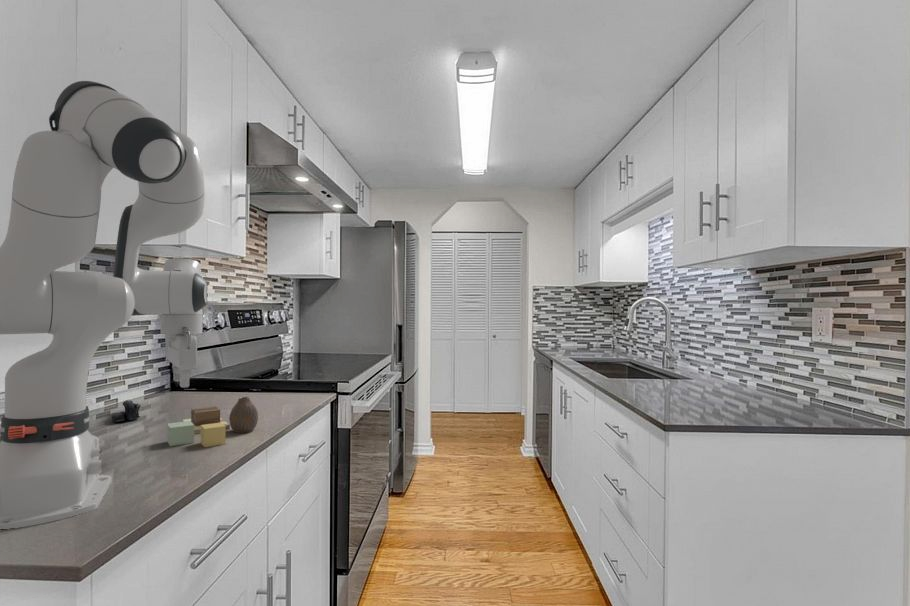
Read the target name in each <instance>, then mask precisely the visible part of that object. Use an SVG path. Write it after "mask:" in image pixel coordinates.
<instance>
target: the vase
mask: <svg viewBox="0 0 910 606" xmlns="http://www.w3.org/2000/svg"><path fill="white" fill-rule="evenodd" d="M228 419H229V425H230V429H231V430H233V432H234V433H236V434H246V433H250V432H252V431H254V430H255V428H256V427H257V424H258V422H259V413H258V408H257V407H256V406H255V404H253V402H252V400H251V399H250V397H249V396H244V397H243V396H242V397H239V398H238V400H237V402H236V403H235V405H234V406H233V407H232V408H231V409H230V414H229V417H228Z"/></svg>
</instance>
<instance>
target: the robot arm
mask: <svg viewBox="0 0 910 606" xmlns="http://www.w3.org/2000/svg"><path fill="white" fill-rule="evenodd" d="M54 104H55V105H54V110H53V112H51V114H50V115H49V117H48V122H49V127H50V130H43V131H41V130H40V131H37V132H34V133H32V134H30V135H28V137H26V138H25V140H24V142H23V143H22V147H21V149H20V153H19V155H18V159H17V161H16V165H15V168H14V169H15V170H14V174H13V181H12V192H11V204H10V212H9V213H10V214H9V221H8V226H7V230H6V231H7V233H6V236H5V238H4V240H3V242H2V244H1V245H0V335H26V334H27V335H29V334H35V335H36V334H49V335H50V334H51V335H52V340H51V342H50V344H49V345H48V346H47V347H45V348H44V349H42V350H39V351H37V352H35V353H32V354H30V355H27V356H26V357H24V358H22V359H20V360H18V361H16V362H15V363H13V364H12V365H11V366H10V367H9V369H8V370H7V371H6V373H5V377H4V415H3V416H1V418H0V419H1V420H0V440H1V442H0V529H8V530H10V529H9V528H15V529H19V528H20V527H21V528H26V527H31V526H32V527H33V526H35V525H36V526H38V525H42V524H46V523H51V522H56V521H60V520H64V519H67V518H68V517H69V518H71V517H72V516H73V517H75V515H76V516H79V514H80V515H83V514H86V513H88V511H89V512H91V511H94V510H96V509H97V508H98V507H99V506H100V504H101V502H102V501H103V498H104V497H105V495H106V493H107V491H108V489H109V488H110V486H111V484H112V482H113V479H112V475H109V474H101V473H102V468H103V460H102V459H99V457H101V452H102V451H101V450H102V449H101V448H99V438H98V437H97V436H96V435H93V434H92V433H91V432H90V431H89V428H90V419H91V418H90V417H91V415H90V410H89V408H88V407H87V391H88V380H89V379H88V378H89V371H90V366H91V363H92V359H93V358H94V356H95V353H96V352H97V350H99V347H100V346H101V345H102V343H104V341H105V340H106V339H107V338H108V337H109V336H110V335H111V334H113V333H114V332H115V331H117V330H118V329H120V328H122V327H123V326H124V325H126V324H127V323H128V321H129V320H130V319H131V318H132V316H142V315H160V334H161V335H164V339H165V351H166V358H167V361H168V362H170V363H171V364H172V366H171V367H172V373H173V381H174V382H179V386H180V388H183V389H184V388H189V386H190V379H191V374H192V370H195V369H197V367H198V344H197V342H198V341H197V340H198V339H197V335H198V334H203V319H204V318H203V317H204V316H203V314H204V313H203V308H204V307H206V306H207V305H208V302H209V301H208V285H209V282H208V280H206V279H205V278H204V277H203V274H202V268H201V267H202V265H201V264H200V262H199V261H198V260H196V259H194V258H193V259H192V258H189V257H173V258H171V257H170V258H168V259H166V260H165V261H164V264H163V268H162V269H163V270H152V269H151V270H149V269H142V268H140V267H138V265H139V264H138V263H139V258H140V257H139V256H140V248H141V246H142V245H143V244H145V243H146V242H150V241H152V240H155V239H158V238H163V237H167V236H172V235H178V234H180V233H183V232H185V231H187V230H189V229H190V228H192V227H193V226H194V225H196V224H197V223H198V222H199V220H200V219H201V218H202V216H203V212H204V207H205V180H204V178H205V177H204V172H203V165H202V162H201V161H202V160H201V157H200V152H199V149H198V146H197V145H196V143H195V142H194V141H193V139H191V138H190V137H188V136H187V135H186V134H184V133H181V132H179V131H176V130H173V129H172V128H171V127H170V126H169V125H168V124H167V123H166V122H165V121H163V120H161V119H160V118H158V117H156V116H155V115H154V114H153V113H152V112H150V111H148V110H147V109H146V108H145V107H144V106H143V105H142V104H140V103H139V102H137V101H136V100H134V99H132V98H131V97H129V96H126V95H124V94H123V93H121V92H118V91H117V90H116V89H114V88H113V87H111V86H108V85H106V84H103V83H101V82H96V81H93V80H92V81H91V80H80V81H75V82H72V83H71V84H69V85H68V86H66V87H65V88H64V89H63V90H62V92H61V93H60V94H59V96H58V98H57V99H56V101H55V103H54ZM53 121H54V122H53ZM53 123H54V124H53ZM54 125H55V126H54ZM113 169H114V170H117V171H119V172H120V173H121V174H123V176H125V177H127V178H129V179H131V180H134V181H136V182H137V183H138V197H137V199H136V201H135V202H134V203H133V204H130V205H127V206H126V207H124V209H123V211H122V213H121V217H120V220H119V225H118V231H117V238H116V239H117V240H116V249H115V257H114V264H113V265H114V267H113V275H109V274H103V273H98V272H88V271H86V272H85V271H83V272H82V271H60V270H58V269H60V268H63V267H65V266H68V265H71V264H74V263H77V262H79V261H81V260H83V259H85V257H87V256H88V255H89V254H90V253H91V252H92V250H93V249H94V247H95V245H96V240H97V233H98V226H99V218H100V210H101V202H102V201H101V200H102V187H103V184H104V182H105V179H106V178H107V175H108V174H109V173H110V172H111V171H112V170H113ZM109 485H110V486H109ZM103 496H104V497H103ZM98 505H99V506H98ZM93 509H94V510H93ZM90 510H91V511H90ZM85 512H86V513H85ZM82 513H83V514H82Z"/></svg>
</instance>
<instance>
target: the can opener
mask: <svg viewBox="0 0 910 606" xmlns="http://www.w3.org/2000/svg"><path fill="white" fill-rule="evenodd" d="M141 404H142V403H134V402H133V400H131V399H126V400H125V401H123V402H122V405H123V407H124V411H120V412H117V413H114V414H112V416H111V420H112V422H113V423H123V422H126V421H128V422H132V421H135V420H137V419H139V418H140V417H141V416H140V414H139V413H140V412H139V411H140V408H142V405H141Z"/></svg>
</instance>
